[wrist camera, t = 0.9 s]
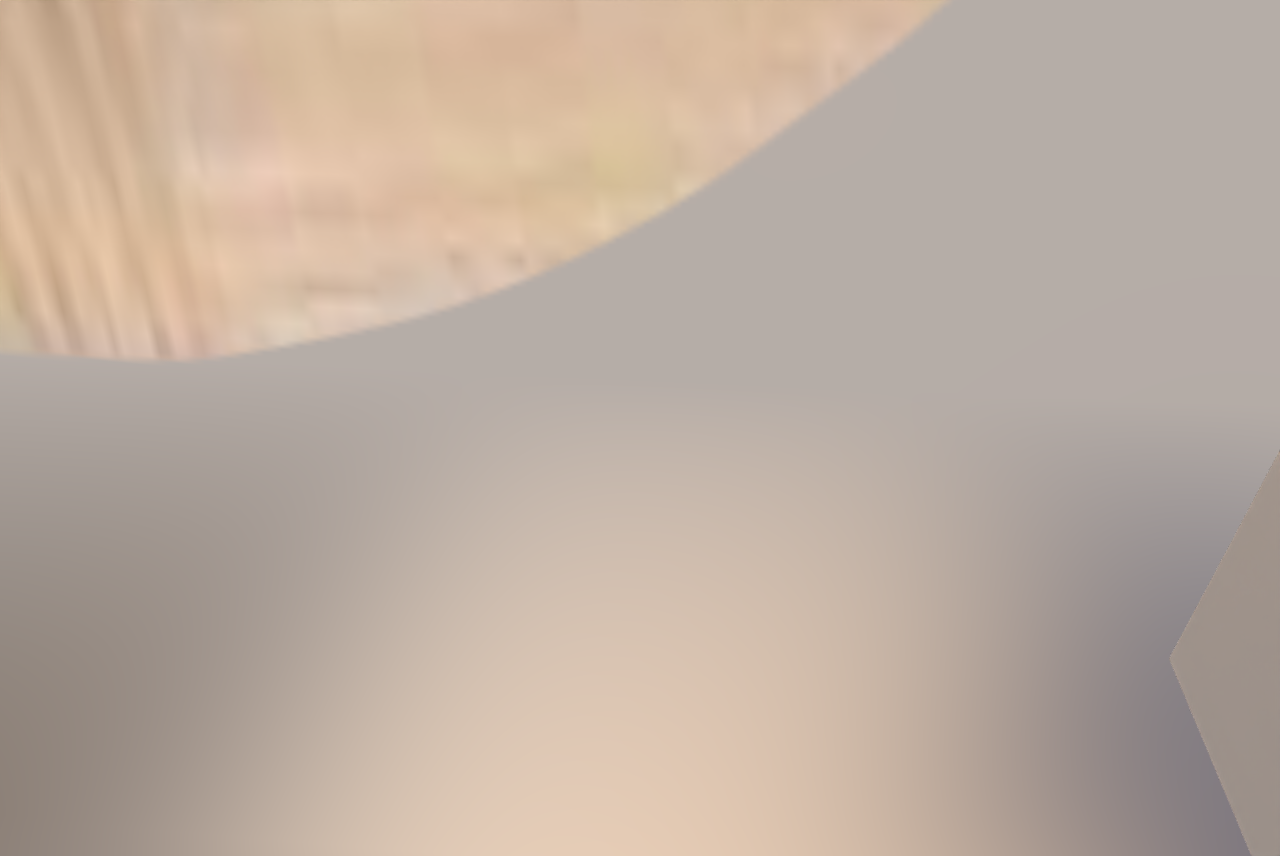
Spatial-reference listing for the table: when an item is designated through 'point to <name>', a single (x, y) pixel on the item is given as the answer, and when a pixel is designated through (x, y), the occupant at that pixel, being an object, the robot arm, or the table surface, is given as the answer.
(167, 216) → the table surface
